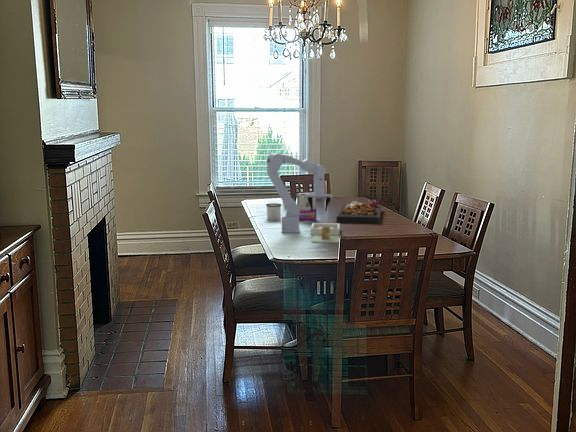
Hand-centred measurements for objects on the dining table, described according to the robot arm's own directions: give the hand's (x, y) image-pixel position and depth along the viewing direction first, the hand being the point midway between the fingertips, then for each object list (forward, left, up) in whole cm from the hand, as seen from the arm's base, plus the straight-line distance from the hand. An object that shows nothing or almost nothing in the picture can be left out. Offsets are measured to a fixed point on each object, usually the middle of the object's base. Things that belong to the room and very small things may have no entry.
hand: (319, 211), depth 316 cm
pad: (+5, -25, -10) cm, 28 cm away
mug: (-29, +31, -11) cm, 44 cm away
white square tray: (+4, -7, -10) cm, 13 cm away
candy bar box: (-9, +29, -11) cm, 32 cm away
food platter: (+23, +43, -11) cm, 50 cm away
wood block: (+5, -25, -10) cm, 27 cm away
